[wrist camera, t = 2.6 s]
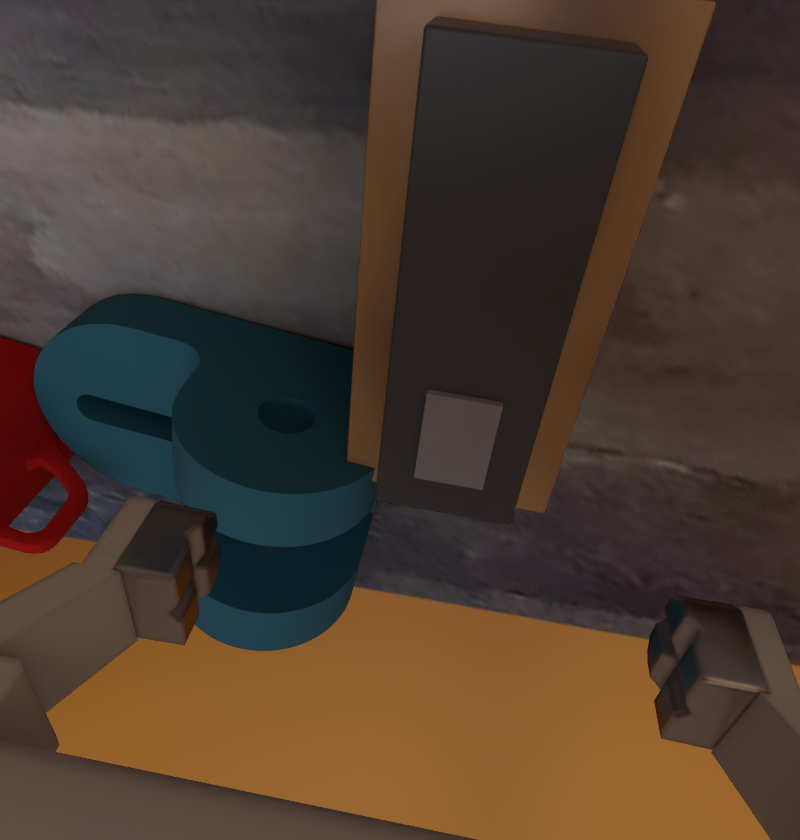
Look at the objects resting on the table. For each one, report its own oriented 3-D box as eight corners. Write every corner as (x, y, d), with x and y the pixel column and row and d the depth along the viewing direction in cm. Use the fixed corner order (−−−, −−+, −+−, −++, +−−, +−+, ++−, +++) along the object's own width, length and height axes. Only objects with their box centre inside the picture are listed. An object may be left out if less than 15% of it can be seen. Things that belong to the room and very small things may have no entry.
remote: (638, 42, 16) (651, 56, 14) (511, 488, 25) (510, 531, 23) (434, 15, 16) (422, 25, 14) (384, 465, 25) (373, 505, 23)
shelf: (661, -19, 21) (717, 1, 15) (541, 398, 32) (544, 513, 25) (422, -49, 22) (377, -43, 15) (381, 370, 32) (345, 477, 26)
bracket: (412, 366, 31) (370, 520, 23) (373, 511, 38) (330, 672, 30) (56, 270, 31) (-114, 390, 23) (78, 431, 38) (-49, 570, 30)
